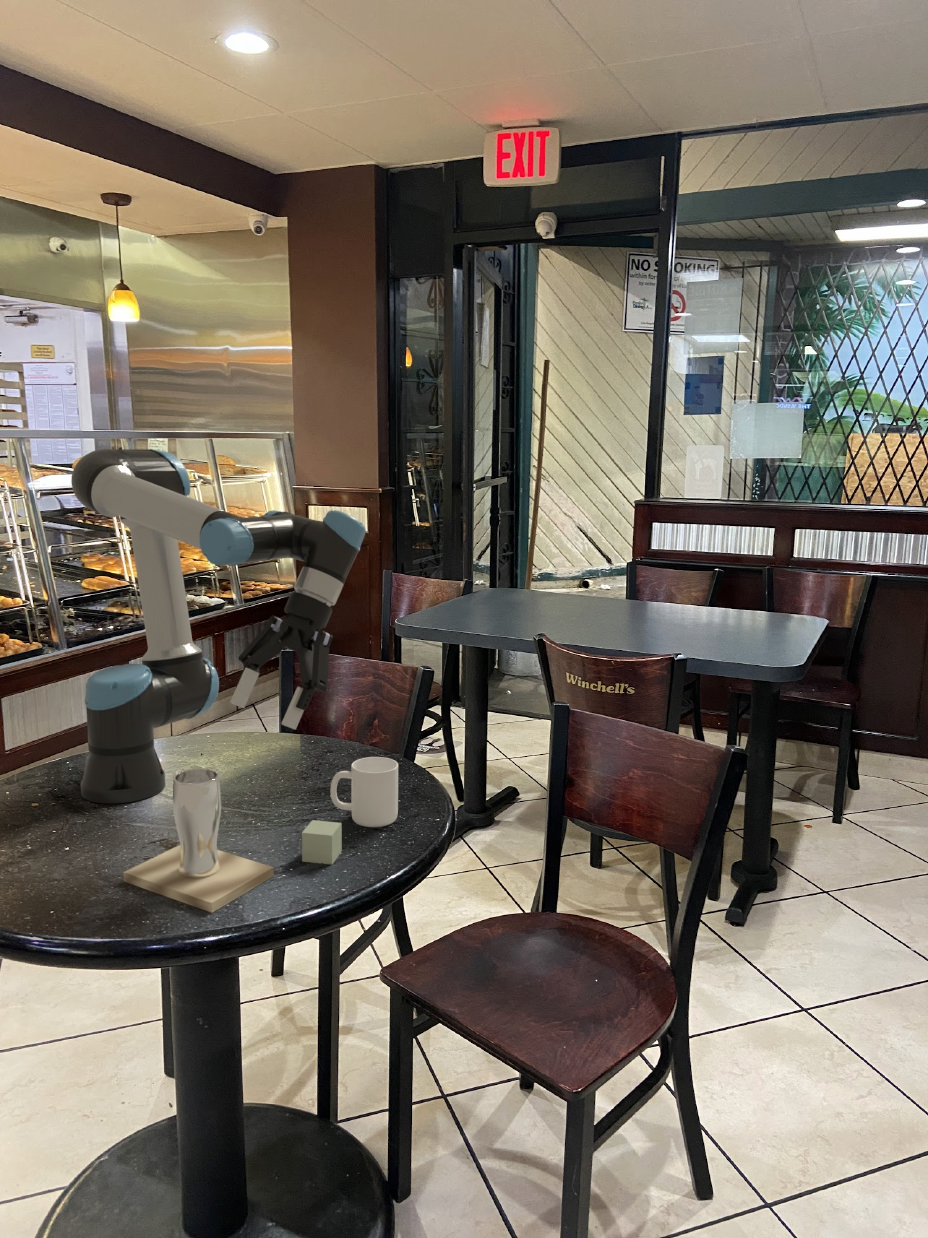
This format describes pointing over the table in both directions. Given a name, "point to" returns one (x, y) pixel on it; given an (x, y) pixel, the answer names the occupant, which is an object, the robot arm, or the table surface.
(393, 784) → the cup
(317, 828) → the sage block
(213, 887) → the board
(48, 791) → the table surface
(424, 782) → the table surface
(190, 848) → the beer glass
